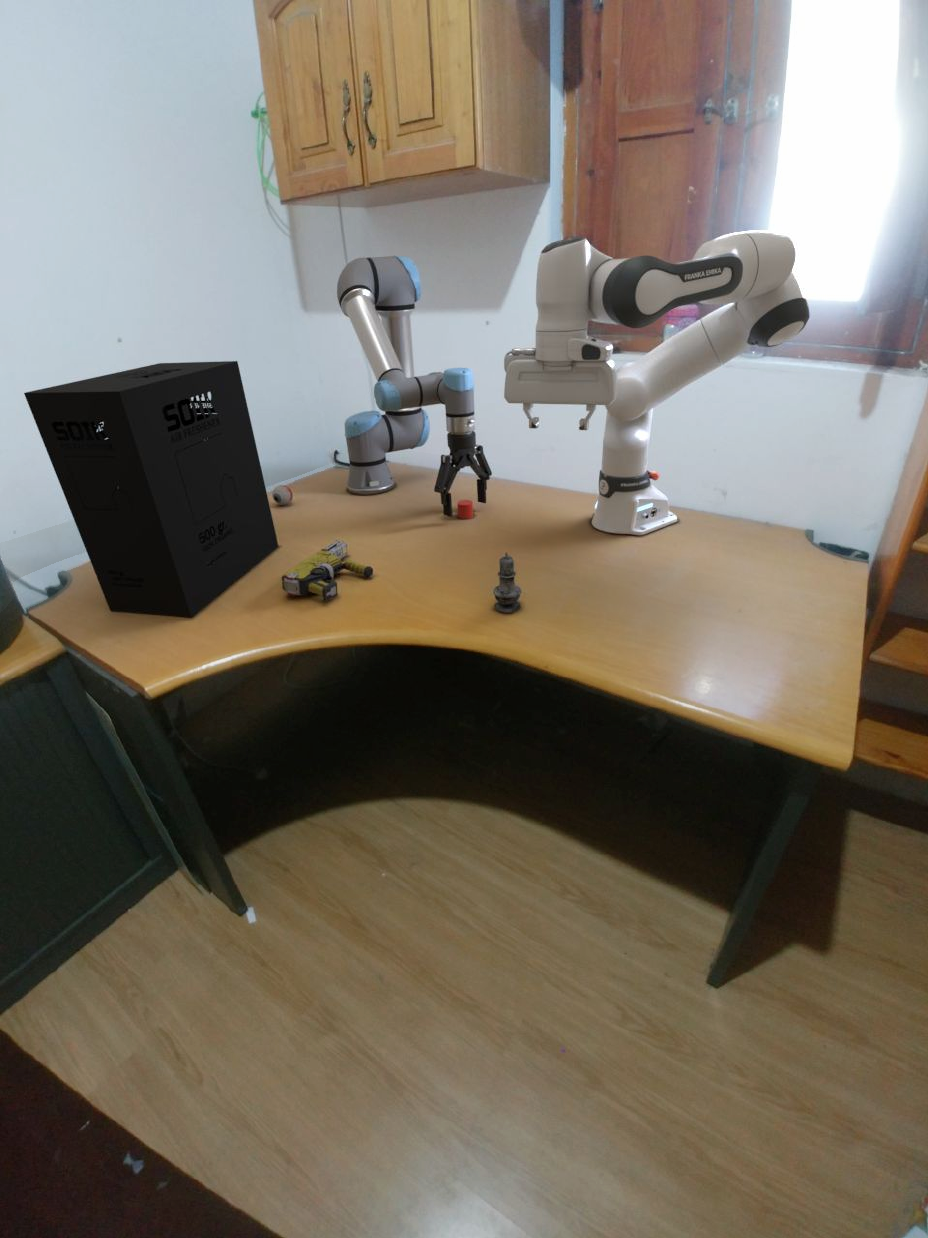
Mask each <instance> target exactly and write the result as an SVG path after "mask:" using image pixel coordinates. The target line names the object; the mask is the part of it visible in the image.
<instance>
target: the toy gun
mask: <svg viewBox="0 0 928 1238" xmlns="http://www.w3.org/2000/svg"><path fill="white" fill-rule="evenodd" d="M345 548H348V543H347V542H346V541H343V540H342V541H341V540H339V539H338V540H335V541H334V542H333V543H331V544H330V545H327V546H326V547H325V548H321V549H320V550H318V551H317V552H316V553H314V554H312V555H311V556H310V557H307V559H305V560H304V561H302V562H300V563H299V564H298V565H296V566H294V567H293V568H291V569H290V570H288V571H287V572H285V573H284V574H282V576H281V585H282V586H281V587H282V590H283V591H284V592H285V593H287V596H292V597H295V596H302V597H303V596H307V595H310V594H315V595H318V596H320V597H322V601H323V602H325V603H327V602H328V601H330V600H332V599H333V598H335V597H337V596H338V594H339V593H338V582H337V581H336V580H334V578H335V577H334V575H336V574H337V573H340V572H342V571H343V570H346V571H349V572H353V573H355V574H358V575H361V576H364V577H366V578H370V577H372V576H373V575H374V569H373V567H372V566H370V565H365V564H361V563H359V562H357V561H352V560H349V559H347V560H345V561H344V562H342V560H343V558H344V557H347V556H348V554H349V553H348V549H346V552H344V549H345Z"/></svg>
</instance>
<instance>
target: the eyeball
mask: <svg viewBox="0 0 928 1238" xmlns="http://www.w3.org/2000/svg"><path fill="white" fill-rule="evenodd" d="M271 496H272V500H274V502H275V503H276V504H277V505H280V506H286V505H289V504H291V502H292V500H293V497H294V495H293V491H292V489H291V488H289V486H287V485H283V484H279V485H277V486H275V487H274V488H273V490H272V494H271Z"/></svg>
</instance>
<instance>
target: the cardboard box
mask: <svg viewBox="0 0 928 1238" xmlns="http://www.w3.org/2000/svg"><path fill="white" fill-rule="evenodd" d="M209 393H210V397H209V395H208V394H209ZM23 394H24V397H25V399H26V402H27V405H28V407H29V410H30V412H31V414H32V418H33V420H34V423H35V425H36V427H37V430H38V431H39V432H38V433H39V435H40V437H41V440H42V442H43V445H44V447H45V450H46V452H47V455H48V457H49V460H50V463H51V465H52V467H53V470H54V473H55V475H56V478H57V480H58V483H59V486H60V488H61V490H62V493H63V495H64V498H65V501H66V503H67V505H68V509H69V510H70V513H71V516H72V518H73V520H74V523H75V525H76V528H77V532H78V533H79V536H80V538H81V541H82V544H83V546H84V548H85V551H86V554H87V555H88V558H89V561H90V563H91V566H92V568H93V571H94V574H95V576H96V579H97V581H98V584H99V587H100V589H101V591H102V594H103V597H104V598H105V601H106V603H107V607H108V609H109V611H110V612H119V613H120V612H122V613H133V614H146V615H157V616H160V615H161V616H170V617H171V616H172V617H183V618H193V617H194V616H195V615H196V614H197V613H199V612H200V611H202V610H203V609H204V608H205V607H206V606H208V605H209V604H210V603H211V602H213V600H214V599H216V598H217V597H218V596H219V595H221V594H222V593H223V592H225V591H226V590H227V589H228V588H230V586H232V585H233V584H234V583H235V582H237V581H238V580H239V579H240V578H242V577H243V576H244V575H246V573H248V572H249V571H250V570H252V568H254V567H256V565H258V564H259V563H260V562H262V560H264V559H265V558H266V557H267V556H268V555H270V554H271V553H273V551H275V550H276V549H277V548H279V542H278V537H277V533H276V529H275V524H274V520H273V515H272V510H271V505H270V502H269V497H268V493H267V487H266V483H265V479H264V474H263V471H262V466H261V461H260V457H259V452H258V447H257V444H256V439H255V434H254V429H253V425H252V421H251V417H250V416H251V415H250V411H249V408H248V403H247V398H246V394H245V388H244V385H243V379H242V376H241V371H240V367H239V361H238V360H227V361H226V360H225V361H224V360H223V361H189V362H188V361H187V362H159V363H155V364H149V365H145V366H140V367H136V368H131V369H126V370H123V371H117V372H114V373H113V372H112V373H109V374H104V375H100V376H95V377H90V378H86V379H81V380H77V381H72V382H68V383H62V384H58V385H54V386H53V385H52V386H49V387H44V388H40V389H35V390H32V391H31V390H30V391H26V392H23ZM197 397H198V398H197ZM192 398H193V399H192ZM202 398H203V399H204V400H202Z"/></svg>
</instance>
